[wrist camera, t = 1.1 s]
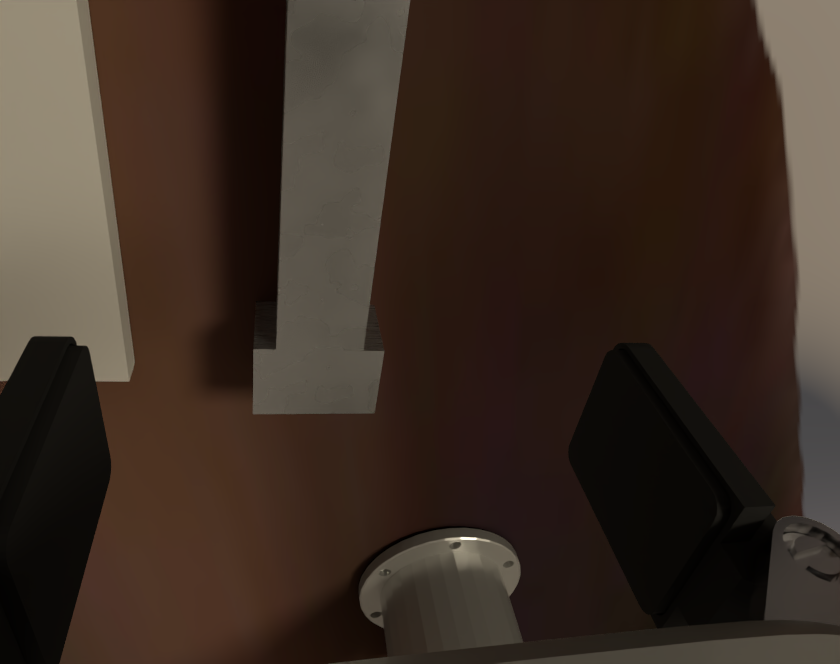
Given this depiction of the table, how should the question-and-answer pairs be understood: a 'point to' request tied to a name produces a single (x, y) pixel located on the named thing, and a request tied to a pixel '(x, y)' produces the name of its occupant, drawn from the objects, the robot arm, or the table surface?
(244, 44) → the table surface
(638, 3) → the table surface
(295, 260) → the grey upright bar
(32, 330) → the rack
